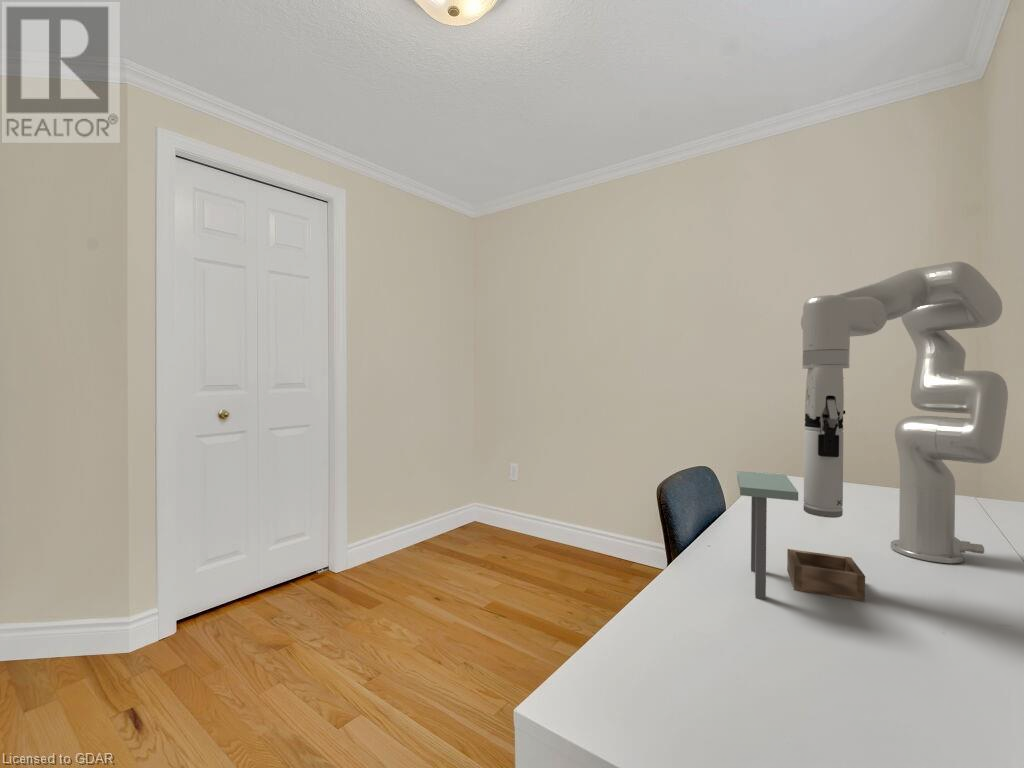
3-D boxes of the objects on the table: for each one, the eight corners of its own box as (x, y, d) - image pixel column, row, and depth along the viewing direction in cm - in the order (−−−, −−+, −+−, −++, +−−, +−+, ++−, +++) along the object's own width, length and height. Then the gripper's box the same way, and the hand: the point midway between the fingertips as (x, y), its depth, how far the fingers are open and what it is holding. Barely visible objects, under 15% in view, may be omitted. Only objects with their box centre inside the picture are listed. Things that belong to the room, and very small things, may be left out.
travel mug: (851, 519, 86) (852, 411, 86) (811, 516, 87) (812, 410, 87) (835, 510, 92) (836, 409, 92) (798, 508, 93) (799, 408, 93)
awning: (784, 571, 96) (785, 474, 96) (797, 607, 80) (798, 492, 80) (736, 564, 99) (737, 471, 99) (739, 597, 84) (740, 487, 84)
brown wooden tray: (850, 580, 92) (851, 557, 92) (865, 601, 83) (865, 576, 83) (787, 570, 96) (787, 548, 96) (794, 589, 87) (794, 565, 87)
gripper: (796, 362, 99) (795, 447, 99) (810, 358, 83) (809, 459, 83) (838, 362, 96) (837, 449, 96) (861, 358, 80) (860, 462, 80)
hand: (824, 453), depth 90 cm, fingers closed on travel mug, 6 cm apart
